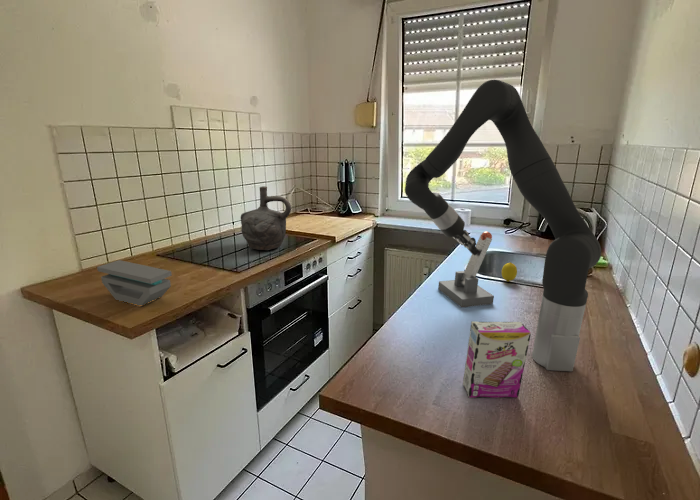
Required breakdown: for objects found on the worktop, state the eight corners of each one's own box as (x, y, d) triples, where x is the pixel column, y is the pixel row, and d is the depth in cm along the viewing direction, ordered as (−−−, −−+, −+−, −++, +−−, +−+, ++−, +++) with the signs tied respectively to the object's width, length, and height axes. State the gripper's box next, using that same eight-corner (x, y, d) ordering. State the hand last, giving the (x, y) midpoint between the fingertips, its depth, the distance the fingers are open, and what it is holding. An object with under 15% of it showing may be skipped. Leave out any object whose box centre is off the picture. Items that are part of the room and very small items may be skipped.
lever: (471, 289, 130) (496, 234, 126) (463, 287, 129) (488, 231, 125) (465, 285, 133) (489, 232, 129) (457, 282, 132) (481, 229, 128)
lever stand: (492, 304, 126) (495, 282, 124) (461, 307, 123) (464, 285, 121) (466, 286, 141) (469, 266, 139) (438, 288, 138) (440, 268, 136)
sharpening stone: (103, 296, 128) (97, 266, 124) (124, 288, 134) (119, 260, 131) (155, 311, 118) (150, 279, 115) (175, 301, 125) (171, 271, 122)
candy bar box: (469, 399, 81) (478, 332, 76) (462, 384, 85) (469, 320, 80) (520, 399, 81) (532, 332, 76) (510, 384, 86) (520, 320, 81)
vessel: (292, 241, 196) (290, 183, 187) (292, 253, 176) (290, 190, 167) (245, 242, 193) (241, 183, 184) (239, 255, 172) (234, 190, 163)
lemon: (516, 285, 143) (519, 265, 140) (501, 283, 144) (504, 264, 142) (513, 279, 148) (516, 260, 146) (499, 278, 149) (501, 259, 147)
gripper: (466, 216, 115) (495, 250, 122) (445, 207, 127) (472, 239, 134) (449, 233, 115) (479, 267, 122) (429, 223, 127) (457, 254, 134)
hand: (475, 252), depth 128 cm, fingers closed
